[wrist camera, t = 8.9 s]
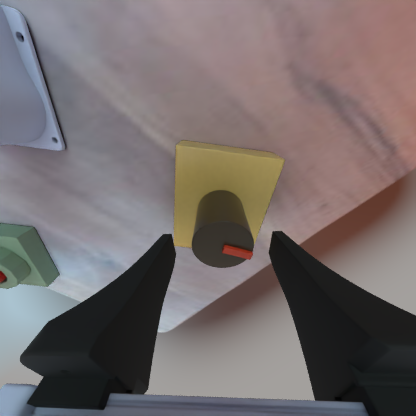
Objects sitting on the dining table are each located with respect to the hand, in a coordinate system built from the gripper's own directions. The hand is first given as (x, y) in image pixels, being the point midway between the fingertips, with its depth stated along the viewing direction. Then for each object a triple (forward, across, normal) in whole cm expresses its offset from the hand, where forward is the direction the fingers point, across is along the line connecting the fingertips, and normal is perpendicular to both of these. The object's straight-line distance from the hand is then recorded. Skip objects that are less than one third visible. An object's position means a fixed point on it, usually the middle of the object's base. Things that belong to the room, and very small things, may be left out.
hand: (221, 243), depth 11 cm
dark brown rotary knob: (+5, 0, 0) cm, 5 cm away
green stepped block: (+8, +30, +8) cm, 32 cm away
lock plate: (+8, 0, 0) cm, 8 cm away
